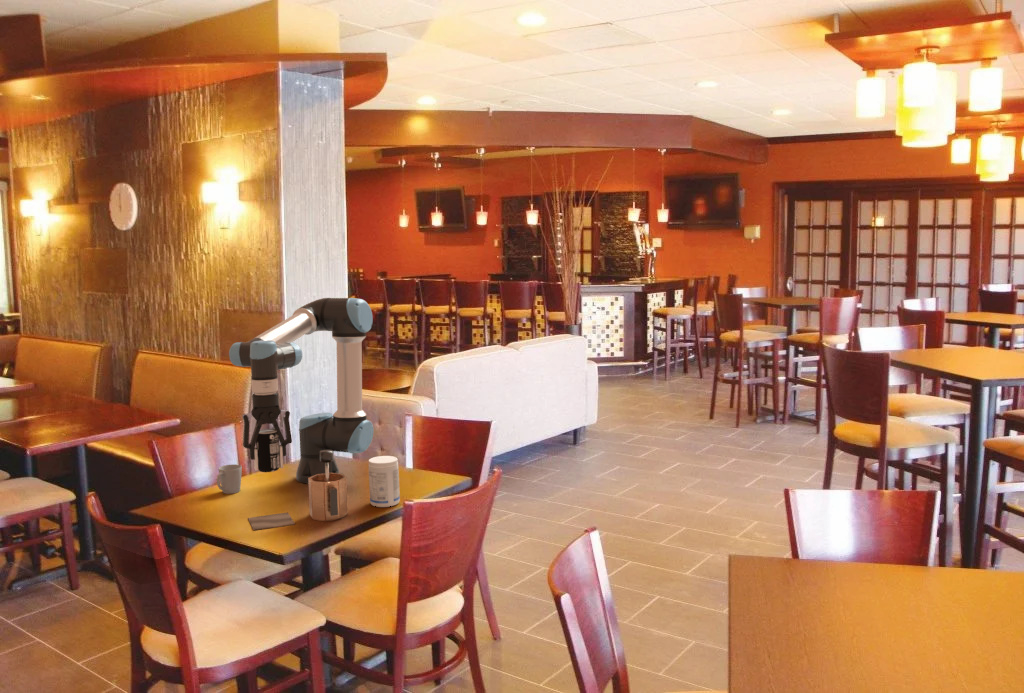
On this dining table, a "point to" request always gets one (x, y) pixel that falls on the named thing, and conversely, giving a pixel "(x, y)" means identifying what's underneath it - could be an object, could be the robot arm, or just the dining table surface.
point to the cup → (229, 478)
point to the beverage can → (268, 450)
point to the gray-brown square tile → (271, 521)
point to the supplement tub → (384, 481)
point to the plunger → (326, 460)
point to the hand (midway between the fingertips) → (268, 468)
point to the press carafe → (328, 497)
